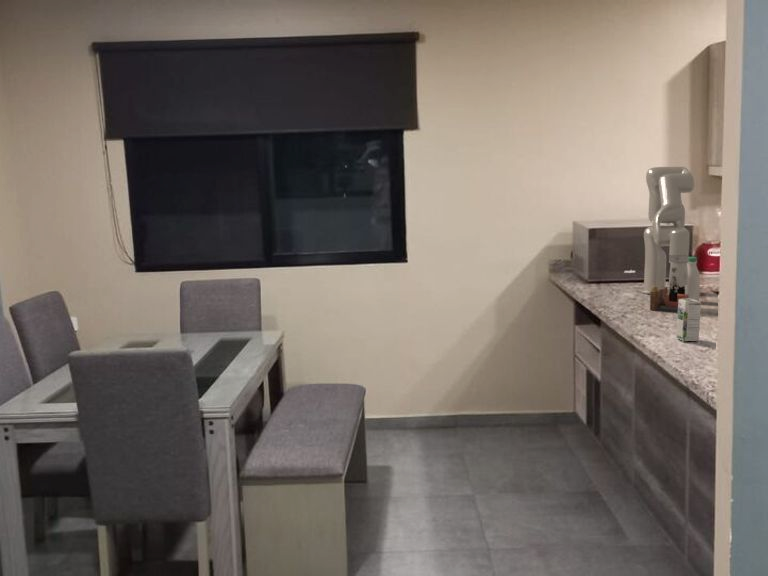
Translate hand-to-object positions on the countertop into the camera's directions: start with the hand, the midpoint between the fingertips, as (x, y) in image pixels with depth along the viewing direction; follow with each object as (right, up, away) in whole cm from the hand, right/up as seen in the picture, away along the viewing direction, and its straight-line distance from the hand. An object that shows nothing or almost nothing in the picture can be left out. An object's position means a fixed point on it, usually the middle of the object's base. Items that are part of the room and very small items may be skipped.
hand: (676, 299), depth 317 cm
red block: (0, -4, +1) cm, 4 cm away
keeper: (0, -4, +1) cm, 4 cm away
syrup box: (-16, -14, -52) cm, 56 cm away
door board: (-6, -4, +5) cm, 9 cm away
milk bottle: (+12, -2, +16) cm, 20 cm away
